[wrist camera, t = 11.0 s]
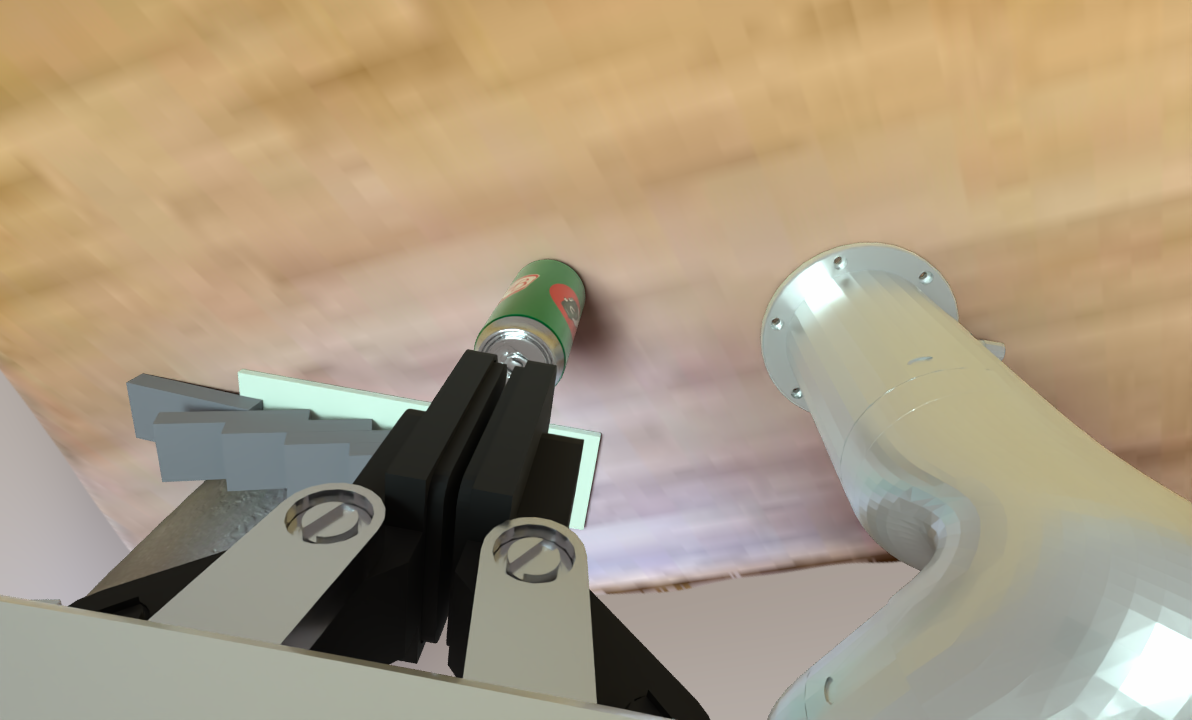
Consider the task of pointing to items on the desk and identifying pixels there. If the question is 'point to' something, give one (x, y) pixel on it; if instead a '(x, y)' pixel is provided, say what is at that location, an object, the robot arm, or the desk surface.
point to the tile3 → (321, 456)
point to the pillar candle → (196, 530)
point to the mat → (388, 417)
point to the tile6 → (177, 401)
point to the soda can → (535, 317)
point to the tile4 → (268, 449)
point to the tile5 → (202, 440)
